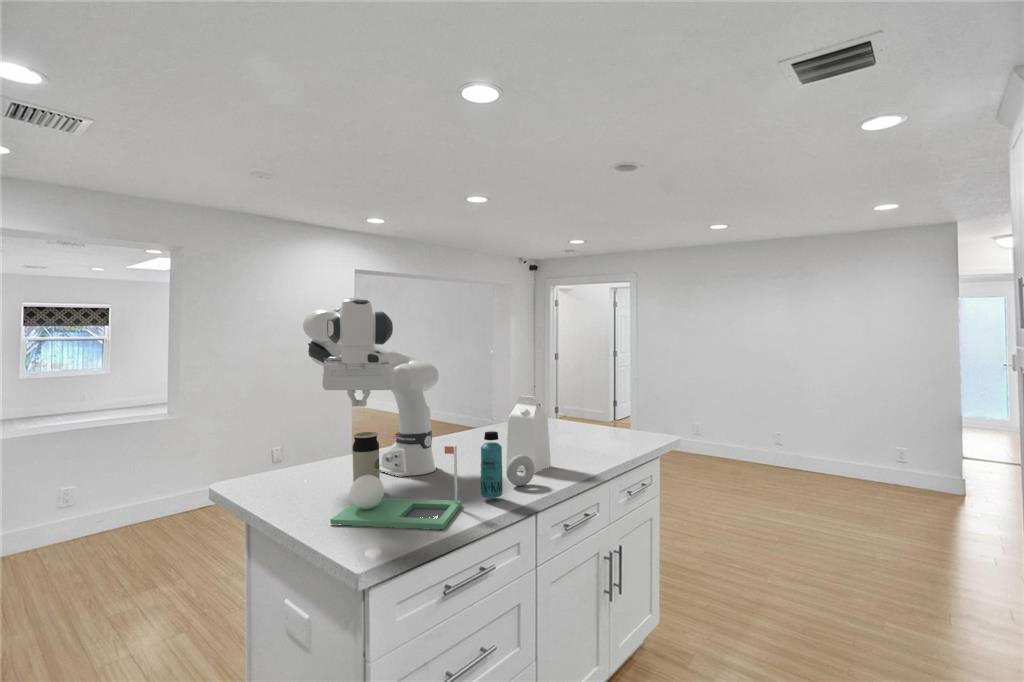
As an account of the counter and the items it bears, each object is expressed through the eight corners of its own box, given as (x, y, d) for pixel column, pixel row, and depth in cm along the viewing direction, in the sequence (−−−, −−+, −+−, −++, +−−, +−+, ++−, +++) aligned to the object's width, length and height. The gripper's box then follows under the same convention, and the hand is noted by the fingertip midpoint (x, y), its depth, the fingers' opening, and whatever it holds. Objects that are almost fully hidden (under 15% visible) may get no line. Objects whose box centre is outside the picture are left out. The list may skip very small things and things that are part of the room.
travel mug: (348, 493, 157) (346, 435, 157) (364, 486, 164) (362, 431, 164) (369, 496, 154) (368, 437, 154) (384, 488, 161) (383, 432, 161)
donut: (509, 489, 158) (509, 457, 158) (504, 487, 161) (504, 455, 161) (537, 484, 163) (536, 453, 163) (531, 482, 166) (531, 451, 166)
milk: (550, 466, 186) (549, 395, 185) (535, 473, 176) (533, 398, 176) (522, 462, 192) (521, 393, 192) (506, 469, 182) (504, 397, 182)
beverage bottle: (480, 497, 151) (479, 430, 151) (502, 495, 152) (501, 429, 152) (481, 504, 145) (479, 434, 145) (504, 503, 145) (502, 433, 145)
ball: (342, 511, 137) (342, 477, 137) (367, 501, 144) (366, 469, 144) (367, 516, 132) (366, 481, 132) (391, 505, 140) (390, 473, 140)
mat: (330, 525, 130) (329, 457, 130) (362, 502, 148) (360, 442, 148) (442, 530, 126) (441, 459, 125) (461, 506, 143) (460, 444, 143)
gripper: (317, 357, 139) (318, 407, 139) (387, 356, 136) (388, 408, 136) (329, 356, 145) (330, 404, 146) (396, 355, 142) (397, 404, 142)
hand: (359, 406), depth 141 cm, fingers closed
